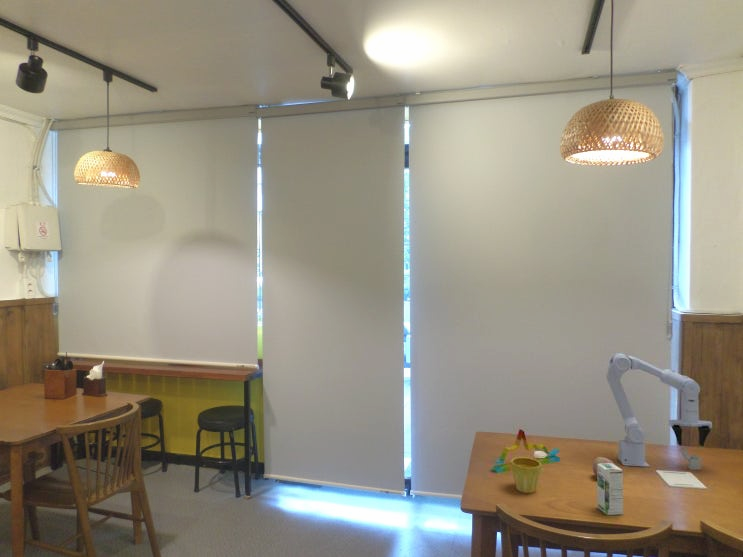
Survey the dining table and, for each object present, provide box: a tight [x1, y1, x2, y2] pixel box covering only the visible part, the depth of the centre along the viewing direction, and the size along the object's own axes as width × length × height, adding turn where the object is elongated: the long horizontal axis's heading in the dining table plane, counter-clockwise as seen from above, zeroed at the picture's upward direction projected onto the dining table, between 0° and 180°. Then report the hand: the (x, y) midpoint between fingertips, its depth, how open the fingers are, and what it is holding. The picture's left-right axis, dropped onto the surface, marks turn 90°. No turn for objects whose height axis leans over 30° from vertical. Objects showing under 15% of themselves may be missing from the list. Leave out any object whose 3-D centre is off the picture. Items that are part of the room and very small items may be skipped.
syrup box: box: [596, 463, 624, 516], centre depth 158 cm, size 6×6×14 cm
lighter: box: [679, 447, 702, 471], centre depth 191 cm, size 7×2×8 cm, turn 90°
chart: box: [492, 428, 561, 474], centre depth 198 cm, size 30×3×15 cm, turn 111°
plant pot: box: [510, 456, 542, 494], centre depth 176 cm, size 10×10×10 cm
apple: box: [592, 456, 615, 477], centre depth 183 cm, size 8×8×8 cm
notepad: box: [655, 469, 708, 490], centre depth 181 cm, size 12×14×1 cm
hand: (690, 444), depth 191 cm, fingers open, 7 cm apart
